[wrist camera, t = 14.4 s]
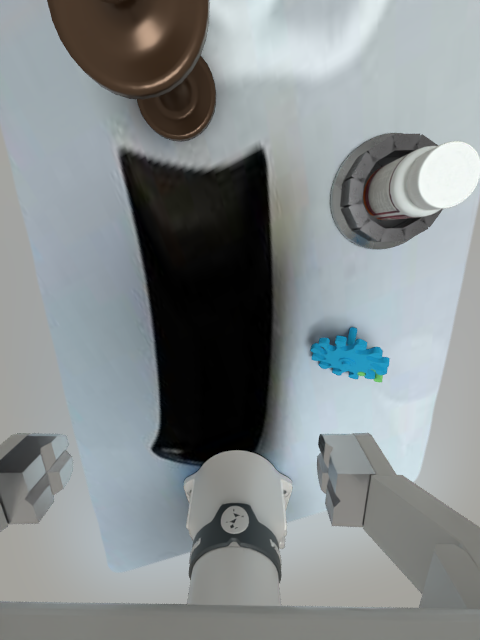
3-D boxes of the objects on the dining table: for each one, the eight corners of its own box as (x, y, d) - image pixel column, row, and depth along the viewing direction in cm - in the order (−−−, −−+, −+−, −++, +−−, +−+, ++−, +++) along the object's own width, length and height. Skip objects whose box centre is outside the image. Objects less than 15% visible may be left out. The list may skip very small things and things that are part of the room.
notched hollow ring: (425, 248, 37) (446, 249, 33) (326, 249, 37) (335, 251, 33) (445, 134, 33) (471, 121, 29) (334, 137, 33) (346, 124, 29)
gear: (294, 353, 40) (351, 337, 32) (304, 320, 43) (359, 298, 34) (347, 389, 43) (412, 383, 35) (353, 356, 46) (414, 343, 38)
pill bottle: (422, 184, 34) (505, 161, 23) (388, 230, 35) (451, 228, 24) (382, 154, 33) (449, 115, 22) (349, 202, 34) (397, 188, 24)
